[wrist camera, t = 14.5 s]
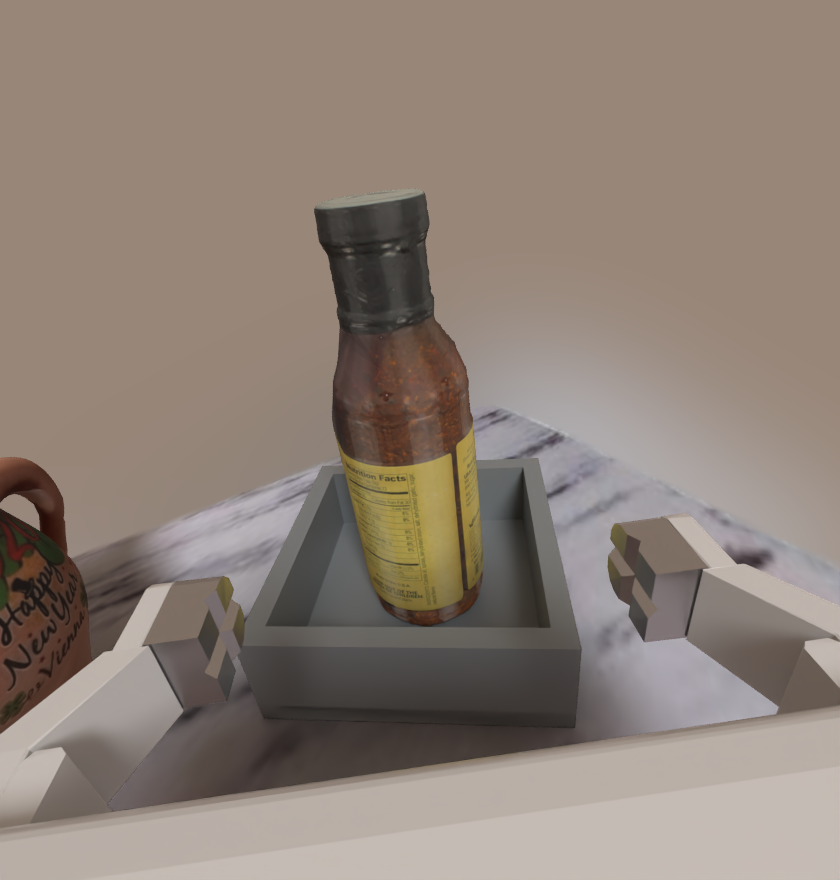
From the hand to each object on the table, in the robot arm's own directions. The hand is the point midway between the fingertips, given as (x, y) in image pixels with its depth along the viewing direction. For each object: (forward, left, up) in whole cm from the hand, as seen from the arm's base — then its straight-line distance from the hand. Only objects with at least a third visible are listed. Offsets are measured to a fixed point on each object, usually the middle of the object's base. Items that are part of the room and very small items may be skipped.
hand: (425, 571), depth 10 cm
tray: (-2, +12, -14) cm, 19 cm away
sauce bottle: (-2, +12, -13) cm, 18 cm away
